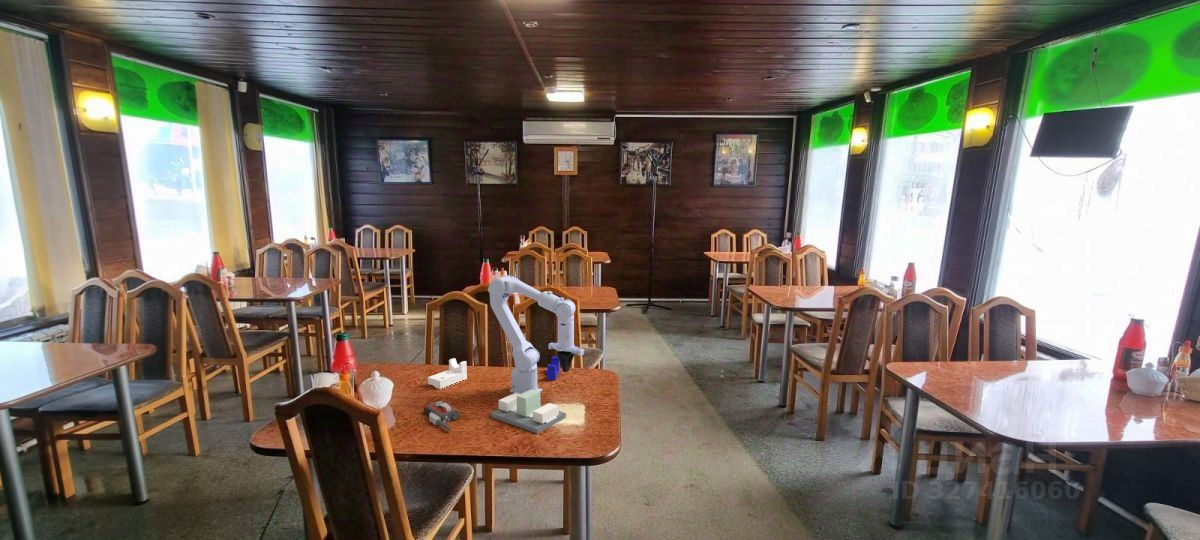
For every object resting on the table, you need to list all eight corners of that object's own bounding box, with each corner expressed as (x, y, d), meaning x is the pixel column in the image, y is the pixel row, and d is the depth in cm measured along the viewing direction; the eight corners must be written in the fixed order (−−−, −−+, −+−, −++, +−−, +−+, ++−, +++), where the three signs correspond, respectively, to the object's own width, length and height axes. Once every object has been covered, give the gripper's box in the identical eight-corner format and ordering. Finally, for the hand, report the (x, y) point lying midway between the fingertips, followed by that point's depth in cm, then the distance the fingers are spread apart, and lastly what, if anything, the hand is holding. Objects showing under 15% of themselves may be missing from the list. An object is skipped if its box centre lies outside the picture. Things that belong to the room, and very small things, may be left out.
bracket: (454, 376, 201) (454, 358, 200) (467, 379, 197) (466, 361, 196) (428, 386, 190) (427, 367, 189) (440, 390, 186) (439, 370, 185)
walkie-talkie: (417, 414, 165) (446, 434, 151) (417, 401, 165) (446, 421, 151) (442, 407, 171) (472, 426, 157) (441, 394, 171) (472, 412, 157)
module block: (516, 413, 161) (516, 395, 160) (531, 406, 167) (531, 389, 166) (526, 416, 159) (525, 398, 158) (540, 409, 165) (540, 392, 164)
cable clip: (548, 370, 208) (548, 356, 208) (559, 370, 208) (559, 356, 207) (543, 380, 197) (543, 366, 196) (555, 381, 196) (555, 366, 196)
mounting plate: (491, 417, 163) (490, 402, 162) (520, 403, 174) (520, 389, 174) (537, 433, 152) (537, 418, 151) (565, 417, 163) (565, 403, 163)
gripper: (542, 333, 178) (543, 370, 180) (575, 340, 170) (575, 378, 172) (555, 329, 184) (555, 365, 186) (587, 335, 176) (587, 372, 178)
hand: (565, 371), depth 180 cm, fingers closed
